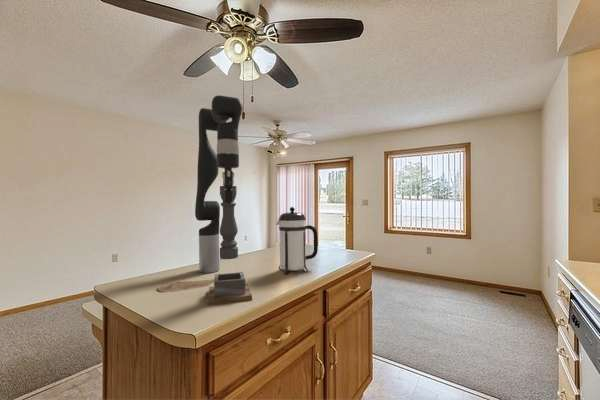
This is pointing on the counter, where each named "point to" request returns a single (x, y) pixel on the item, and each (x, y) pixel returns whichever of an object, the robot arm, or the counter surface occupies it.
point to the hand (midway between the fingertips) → (228, 201)
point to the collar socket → (229, 289)
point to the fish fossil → (183, 285)
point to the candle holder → (228, 227)
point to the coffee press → (294, 241)
